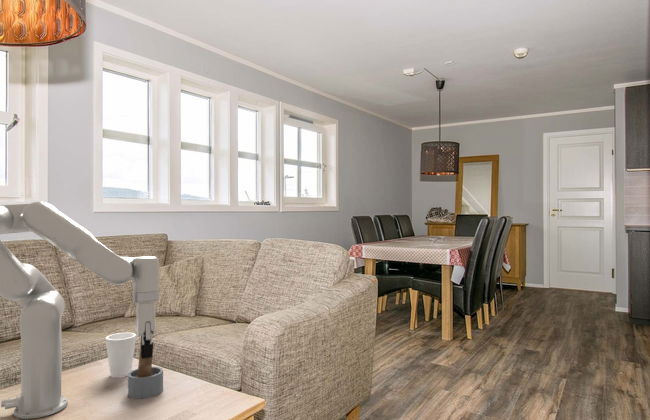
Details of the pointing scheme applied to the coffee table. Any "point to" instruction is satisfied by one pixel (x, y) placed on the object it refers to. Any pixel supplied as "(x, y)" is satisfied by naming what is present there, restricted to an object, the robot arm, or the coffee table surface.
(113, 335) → the foam cup
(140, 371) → the brown wooden bar
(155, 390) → the faceted hollow tube
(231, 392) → the coffee table surface
